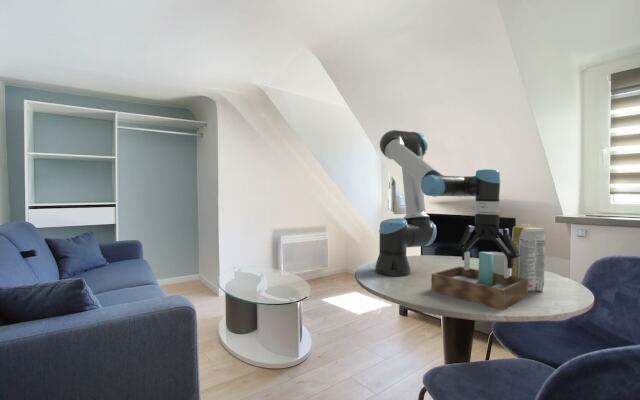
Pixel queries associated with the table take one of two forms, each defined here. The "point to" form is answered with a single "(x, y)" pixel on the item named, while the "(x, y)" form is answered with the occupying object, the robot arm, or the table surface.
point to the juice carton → (529, 255)
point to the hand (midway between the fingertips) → (485, 273)
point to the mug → (498, 262)
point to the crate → (480, 287)
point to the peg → (485, 268)
